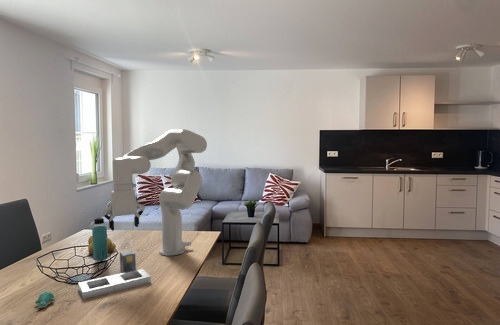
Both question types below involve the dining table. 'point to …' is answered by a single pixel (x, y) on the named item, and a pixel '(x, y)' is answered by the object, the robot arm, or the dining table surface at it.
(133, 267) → the block
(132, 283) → the rail
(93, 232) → the beverage bottle
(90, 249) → the bread roll
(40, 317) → the dining table surface
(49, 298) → the whale figurine
